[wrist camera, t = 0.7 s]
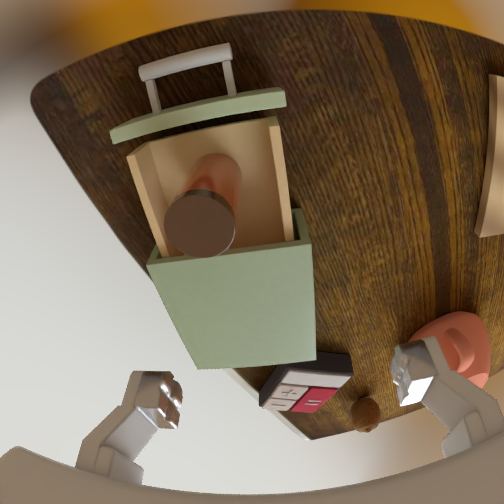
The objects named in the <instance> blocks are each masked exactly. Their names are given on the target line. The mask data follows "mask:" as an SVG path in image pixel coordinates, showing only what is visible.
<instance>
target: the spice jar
mask: <svg viewBox="0 0 504 504" xmlns="http://www.w3.org/2000/svg"><path fill="white" fill-rule="evenodd" d="M241 185H242V172H241V169H240V167H239V165H238V164H237V162H236V161H235V160H234V159H232V158H231V157H229V156H227V155H225V154H221V153H210V154H207V155H204V156H202V157H201V158H199V159H198V160H197V161H196V162H195V164H194V165H193V167H192V169H191V170H190V172H189V174H188V175H187V177H186V179H185V180H184V182H183V184H182V185H181V187H180V189H179V190H178V192H177V194H176V196H175V197H174V199H173V201H172V203H171V204H170V206H169V208H168V210H167V212H166V214H165V217H164V230H165V234H166V236H167V238H168V240H169V241H170V243H171V244H172V245H173V246H174V247H175V248H176V249H177V250H179V251H180V252H182V253H184V254H186V255H188V256H191V257H196V258H209V257H213V256H216V255H219V254H221V253H222V252H224V251H225V250H226V249H227V248H228V247H229V246H230V245H231V243H232V241H233V239H234V236H235V230H236V223H237V215H238V207H239V200H240V192H241Z"/></svg>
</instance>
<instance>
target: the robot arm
mask: <svg viewBox="0 0 504 504" xmlns="http://www.w3.org/2000/svg"><path fill="white" fill-rule="evenodd" d="M394 353H395V356H394V357H393V358H392V360H391V375H392V379H393V382H395V383H396V384H397V385H399V386H398V388H397V391H396V392H397V396H398V399H399V403H400V406H404V405H408V404H412V403H416V402H419V401H421V403H422V404H423V405H424V406H425V407H426V408H427V409H429V410H430V411H431V412H432V413H433V414H434V415H435V416H436V417H437V418H438V419H439V420H440V421H441V422H442V423H443V424H444V425H445V426H446V427H448V429H450V430H451V431H450V432H449V433H448V434H447V436H446V437H445V438H444V439H443V440H442V442H441V445H442V450H443V453H444V457H445V458H444V459H441V460H439V461H436V462H433V463H430V464H428V465H425V466H422V467H419V468H416V469H412V470H409V471H406V472H403V473H399V474H395V475H392V476H388V477H384V478H380V479H376V480H372V481H367V482H362V483H358V484H353V485H347V486H342V487H335V488H330V489H323V490H314V491H305V492H295V493H281V494H257V495H256V494H254V495H253V494H252V495H240V494H239V495H238V494H212V493H197V492H186V491H179V490H171V489H164V488H157V487H151V486H146V485H141V484H142V477H143V471H144V470H143V468H142V467H141V466H139V465H137V464H136V463H134V462H133V461H134V459H135V458H136V457H137V456H138V454H139V453H140V452H141V451H142V449H143V448H144V447H145V445H146V444H147V443H148V442H149V440H150V439H151V438H152V436H153V435H154V434H155V433H156V431H157V430H158V428H169V429H177V428H178V422H179V417H180V414H179V412H178V410H177V409H178V407H180V405H181V404H182V398H183V397H182V389H181V386H180V384H179V383H178V382H176V381H175V380H173V378H174V376H173V374H172V373H171V372H170V371H133V372H132V374H131V375H130V379H129V382H128V385H127V388H126V392H125V395H124V398H123V402H122V405H121V406H117V407H116V408H115V409H114V410H113V411H112V412H111V413H110V414H109V415H108V416H107V417H106V418H105V419H104V420H103V421H102V422H101V423H100V424H99V425H98V426H97V427H96V428H95V429H94V430H93V431H92V432H91V433H90V434H89V435H88V436H87V437H85V438H84V440H83V441H82V445H81V448H80V451H79V455H78V458H77V462H76V466H75V468H74V467H71V466H68V465H65V464H63V463H60V462H57V461H54V460H52V459H49V458H47V457H44V456H42V455H39V454H37V453H34V452H32V451H30V450H27V449H25V448H23V447H20V446H16V447H14V448H12V449H10V450H9V451H8V452H7V453H5V454H4V455H3V456H2V457H1V458H0V504H504V417H503V415H502V412H501V409H500V407H499V404H498V402H497V400H496V399H495V398H493V397H492V396H491V395H489V394H488V393H486V392H485V391H483V390H482V389H481V388H479V387H478V386H477V385H475V384H474V383H472V382H471V381H469V380H468V379H467V378H465V377H464V376H462V375H461V374H460V373H458V372H457V371H455V370H452V371H451V369H450V367H449V365H448V363H447V360H446V358H445V356H444V354H443V352H442V349H441V347H440V345H439V343H438V341H437V339H436V337H434V336H430V337H427V338H423V339H418V340H414V341H410V342H406V343H403V344H399V345H396V346H395V349H394Z"/></svg>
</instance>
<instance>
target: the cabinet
mask: <svg viewBox="0 0 504 504" xmlns="http://www.w3.org/2000/svg"><path fill="white" fill-rule="evenodd" d="M291 214H292V223H293V232H294V241H289V242H282V243H274V244H266V245H259V246H251V247H243V248H236V249H228V250H225V251H224V252H222V253H221V254H219V255H216V256H213V257H209V258H196V257H191V256H188V255H183V256H176V257H168V258H162V256H161V253H160V251H159V248H158V246H157V243H156V245H155V247H154V249H153V251H152V253H151V255H150V258H149V260H148V262H147V264H146V267H147V269H148V271H149V273H150V276H151V278H152V280H153V282H154V284H155V287H156V289H157V291H158V293H159V295H160V297H161V299H162V301H163V304H164V305H165V308H166V310H167V312H168V314H169V316H170V318H171V320H172V322H173V324H174V326H175V328H176V330H177V331H178V333H179V335H180V337H181V339H182V341H183V343H184V345H185V347H186V349H187V351H188V352H189V354H190V356H191V358H192V360H193V362H194V363H195V365H196V367H197V369H221V368H239V367H254V366H266V365H276V364H286V363H295V362H304V361H312V360H316V327H315V300H314V280H313V263H312V247H311V241H310V237H309V234H308V230H307V226H306V222H305V219H304V215H303V211H302V208H297V209H291Z"/></svg>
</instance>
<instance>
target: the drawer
mask: <svg viewBox="0 0 504 504" xmlns="http://www.w3.org/2000/svg"><path fill="white" fill-rule="evenodd" d="M232 59H233V56H232V50H231V46H230V43H225V44H220V45H215V46H210V47H206V48H201V49H197V50H193V51H189V52H185V53H181V54H178V55H174V56H171V57H167V58H164V59H160V60H157V61H154V62H151V63H148V64H145V65H142V66H140V67H139V76H140V78H141V80H142V81H143V82H145V83H146V87H147V91H148V95H149V99H150V103H151V107H152V111H153V113H150V114H146V115H143V116H140V117H137V118H133V119H131V120H129V121H127V122H125V123H123V124H121V125H119V126H117V127H115V128H113V129H111V130H110V131H109V132H110V135H111V139H112V142H113V144H116V143H119V142H122V141H126V140H129V139H132V138H135V137H139V136H142V135H146V134H149V133H153V132H157V131H161V130H164V129H168V128H172V127H176V126H180V125H185V124H189V123H193V122H198V121H203V120H207V119H212V118H217V117H222V116H228V115H233V114H239V113H245V112H251V111H257V110H264V109H271V108H279V107H286V106H287V105H286V98H285V92H284V90H282V89H281V88H280V87H274V88H266V89H259V90H253V91H247V92H241V93H237V92H236V87H235V82H234V76H233V71H232V66H231V61H230V60H232ZM217 62H222V66H223V71H224V76H225V81H226V86H227V91H228V95H224V96H219V97H214V98H209V99H205V100H200V101H196V102H191V103H187V104H183V105H179V106H175V107H171V108H168V109H164V110H162V109H161V105H160V101H159V97H158V93H157V88H156V84H155V80H154V79H155V78H158V77H161V76H165V75H168V74H172V73H175V72H179V71H183V70H187V69H191V68H195V67H199V66H203V65H208V64H213V63H217ZM210 153H221V154H225V155H227V156H229V157H231V158H232V159H234V160H235V161H236V162H237V164H238V165H239V167H240V169H241V172H242V185H241V192H240V200H239V207H238V215H237V223H236V230H235V236H234V239H233V241H232V243H231V245H230V246H229V247H228V248H227V249H226V250H228V249H236V248H243V247H251V246H259V245H266V244H274V243H282V242H289V241H294V232H293V223H292V214H291V206H290V198H289V190H288V182H287V175H286V167H285V160H284V153H283V146H282V139H281V132H280V126H279V123H278V120H277V118H276V116H272V117H265V118H258V119H251V120H245V121H239V122H233V123H228V124H223V125H217V126H212V127H207V128H202V129H198V130H193V131H189V132H184V133H180V134H176V135H172V136H168V137H164V138H160V139H156V140H152V141H148V142H145V143H143V144H142V145H141V146H139V147H138V148H137V149H135V150H134V151H133V152H132V153H130V154H129V155H128V156H126V157H127V161H128V164H129V167H130V170H131V173H132V176H133V179H134V182H135V185H136V188H137V191H138V194H139V197H140V200H141V203H142V205H143V208H144V211H145V214H146V216H147V219H148V222H149V225H150V227H151V230H152V233H153V235H154V238H155V241H156V243H157V246H158V248H159V251H160V253H161V256H162V258H168V257H176V256H183V255H186V254H184V253H182V252H180V251H179V250H177V249H176V248H175V247H174V246H173V245H172V244H171V243H170V241H169V240H168V238H167V236H166V234H165V230H164V217H165V214H166V212H167V210H168V208H169V206H170V204H171V203H172V201H173V199H174V197H175V196H176V194H177V192H178V190H179V189H180V187H181V185H182V184H183V182H184V180H185V179H186V177H187V175H188V174H189V172H190V170H191V169H192V167H193V165H194V164H195V162H196V161H197V160H198V159H199V158H201V157H202V156H204V155H207V154H210Z"/></svg>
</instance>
